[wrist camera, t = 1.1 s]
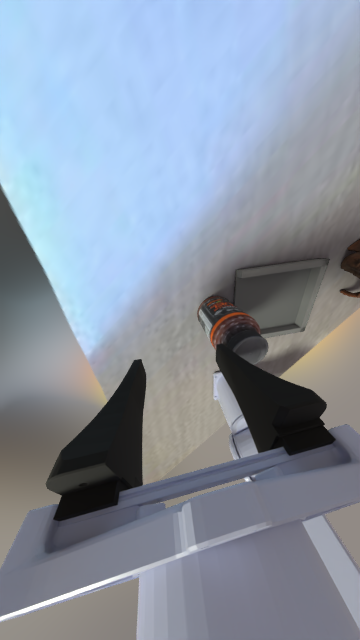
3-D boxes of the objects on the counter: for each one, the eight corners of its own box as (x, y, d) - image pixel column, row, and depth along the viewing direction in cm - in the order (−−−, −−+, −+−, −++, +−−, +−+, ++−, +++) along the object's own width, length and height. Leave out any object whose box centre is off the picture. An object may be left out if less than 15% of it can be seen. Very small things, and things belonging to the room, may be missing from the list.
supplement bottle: (228, 291, 22) (283, 320, 12) (229, 321, 25) (276, 366, 15) (193, 299, 22) (221, 336, 12) (198, 329, 25) (224, 380, 15)
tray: (295, 326, 28) (304, 331, 26) (231, 338, 27) (235, 343, 25) (317, 258, 22) (329, 258, 20) (236, 269, 21) (242, 271, 19)
